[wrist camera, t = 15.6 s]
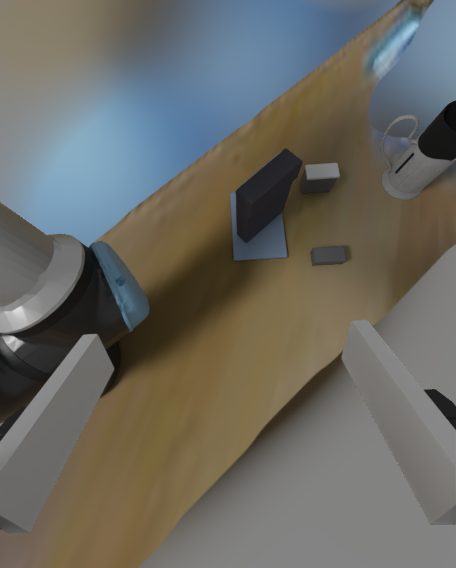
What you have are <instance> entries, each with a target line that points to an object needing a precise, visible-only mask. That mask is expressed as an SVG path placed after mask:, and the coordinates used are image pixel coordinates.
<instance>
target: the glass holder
mask: <svg viewBox="0 0 456 568" xmlns="http://www.w3.org/2000/svg"><path fill="white" fill-rule="evenodd" d="M403 119H411V120H413V121H414V122H415V128H414V130H413V131H412V132H411V134H410V135H409V138H408V141H409V142H410V143H412V144H411V145H410V147H409V148H408V149H407V150H406V151H405V152H404V153H403V155H402V156H401V157H400V158H399V159H398V160H397V161H396V163H395V164H394V165H393V166H391V164H390V162H389V160H388V159H387V157H386V155H385V153H384V150H383V142H384V139H385V136H386V134H387V133H388V131H389V129H390V128H391V127H392V126H393V125H394V124H395V123H396V122H398V121H400V120H403ZM418 125H419V121H418V119H417V117H416V116H414V115H403V116H401V117H398V118H397V119H395V120H394V121H393V122H392V123H391V124H390V125H389V126H388V128H387V130H386V131H385V133H384V135H383V138H382V140H381V146H380V152H381V154H382V156H383V158H384V160H385V162H386V164H387V165H388V167H389V168H388V169H387V170H386V171H385V172H384V174H383V175H382V185H383V188H384V189H385V191H386V192H387V193H388V194H389V195H391V196H393V197H395V198H397V199H402V200H408V199H413V198H415V197H417V196H418V195H419V194H420V193H421V192H422V190H423V188H424V187H426V186H427V185H428V184H429V183H430V182H432V181H433V180H434V179H435V178H436V177H438V176H439V175H440V174H441V173H442V172H444V171H445V170H446V169H447V168H448V167H450V166H451V165H452V164H453V163H454V162H456V101H453V102H451V103H449V104H448V105H447V106H446V107H445V108H444V110H442V112H441V113H440V114H439V115H438V116H437V117H436V118H435V120H434V121H433V122H432V123H431V124H430V125H429V126H428V128H427V129H426V130H425V131H423V132H422V133H421V134H420V135H419V136H418V137H417V139H416V140H414V139H411V137H412V135H413V134H414V133H415V131H416V130H417V128H418Z"/></svg>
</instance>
